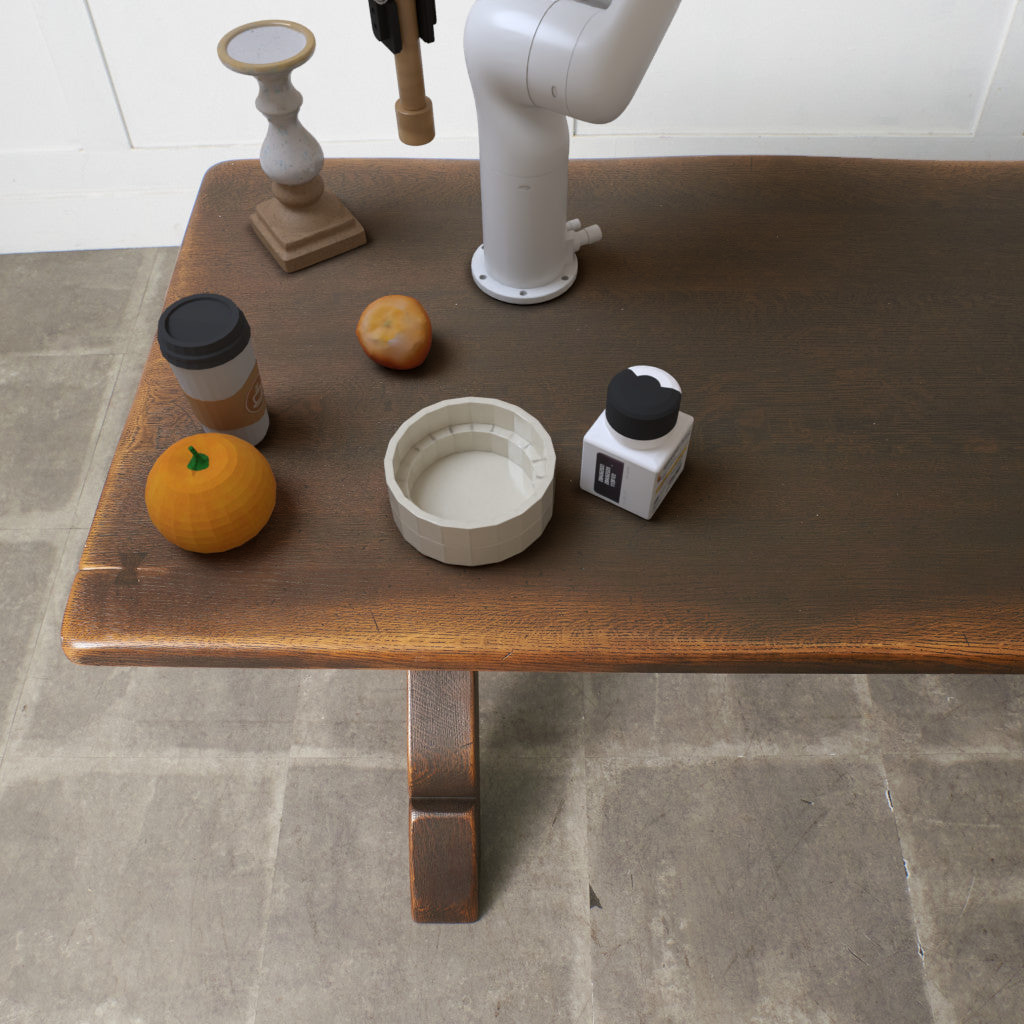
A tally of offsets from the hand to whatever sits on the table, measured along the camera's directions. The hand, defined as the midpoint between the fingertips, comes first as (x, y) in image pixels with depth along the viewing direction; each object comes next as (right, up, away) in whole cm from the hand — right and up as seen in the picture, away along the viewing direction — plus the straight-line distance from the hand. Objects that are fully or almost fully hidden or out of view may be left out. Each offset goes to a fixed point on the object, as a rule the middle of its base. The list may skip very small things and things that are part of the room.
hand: (406, 39), depth 74 cm
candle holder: (-17, -4, +41) cm, 45 cm away
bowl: (+5, -37, +16) cm, 40 cm away
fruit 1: (-19, -38, +15) cm, 46 cm away
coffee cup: (-20, -29, +22) cm, 42 cm away
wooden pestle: (0, -5, +7) cm, 8 cm away
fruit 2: (-4, -21, +28) cm, 35 cm away
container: (+20, -35, +18) cm, 44 cm away
